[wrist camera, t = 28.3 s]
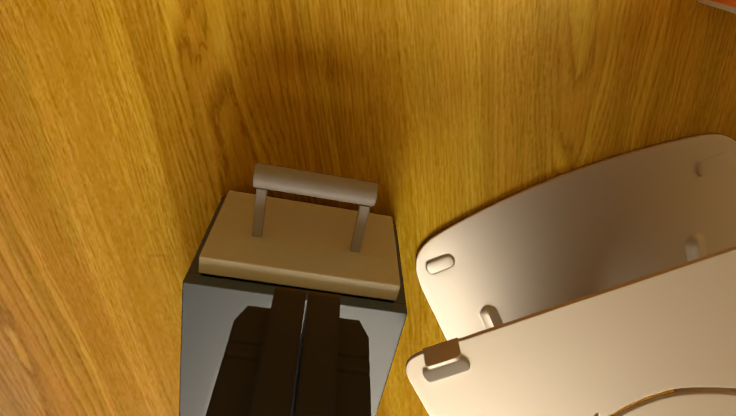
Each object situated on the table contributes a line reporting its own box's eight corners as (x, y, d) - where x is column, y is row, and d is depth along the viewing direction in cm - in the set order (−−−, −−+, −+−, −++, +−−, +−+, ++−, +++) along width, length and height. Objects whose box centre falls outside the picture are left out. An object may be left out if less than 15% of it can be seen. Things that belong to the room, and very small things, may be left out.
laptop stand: (483, 425, 49) (531, 618, 36) (386, 236, 38) (402, 412, 25) (767, 340, 44) (945, 526, 31) (748, 97, 34) (1009, 222, 20)
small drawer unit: (221, 197, 36) (182, 281, 28) (396, 224, 38) (407, 313, 30) (211, 346, 44) (177, 449, 35) (359, 365, 45) (359, 468, 37)
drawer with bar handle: (233, 125, 33) (202, 181, 26) (408, 156, 34) (421, 216, 27) (218, 335, 42) (191, 417, 35) (357, 353, 43) (357, 435, 36)
